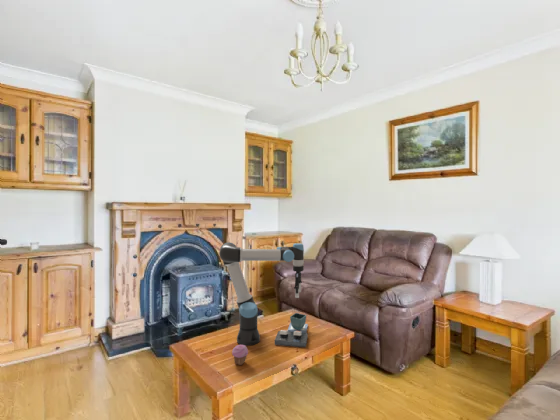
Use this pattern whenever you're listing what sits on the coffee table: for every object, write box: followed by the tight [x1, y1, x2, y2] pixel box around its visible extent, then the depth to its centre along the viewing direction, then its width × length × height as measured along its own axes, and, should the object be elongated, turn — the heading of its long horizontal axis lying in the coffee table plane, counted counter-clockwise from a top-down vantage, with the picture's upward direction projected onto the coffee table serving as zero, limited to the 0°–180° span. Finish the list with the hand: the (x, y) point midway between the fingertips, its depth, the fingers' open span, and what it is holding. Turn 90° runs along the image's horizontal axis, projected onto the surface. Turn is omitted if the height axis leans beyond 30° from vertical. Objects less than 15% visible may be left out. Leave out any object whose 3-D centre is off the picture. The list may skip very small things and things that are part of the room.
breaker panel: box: [274, 330, 309, 348], centre depth 200 cm, size 20×14×4 cm
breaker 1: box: [279, 329, 288, 335], centre depth 200 cm, size 4×8×2 cm, turn 170°
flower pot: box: [289, 312, 307, 330], centre depth 216 cm, size 9×9×9 cm
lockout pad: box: [287, 322, 309, 333], centre depth 219 cm, size 13×13×2 cm
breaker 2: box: [294, 331, 302, 336], centre depth 199 cm, size 4×8×2 cm, turn 170°
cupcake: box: [231, 344, 249, 366], centre depth 172 cm, size 9×9×10 cm
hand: (298, 294), depth 218 cm, fingers open, 13 cm apart
